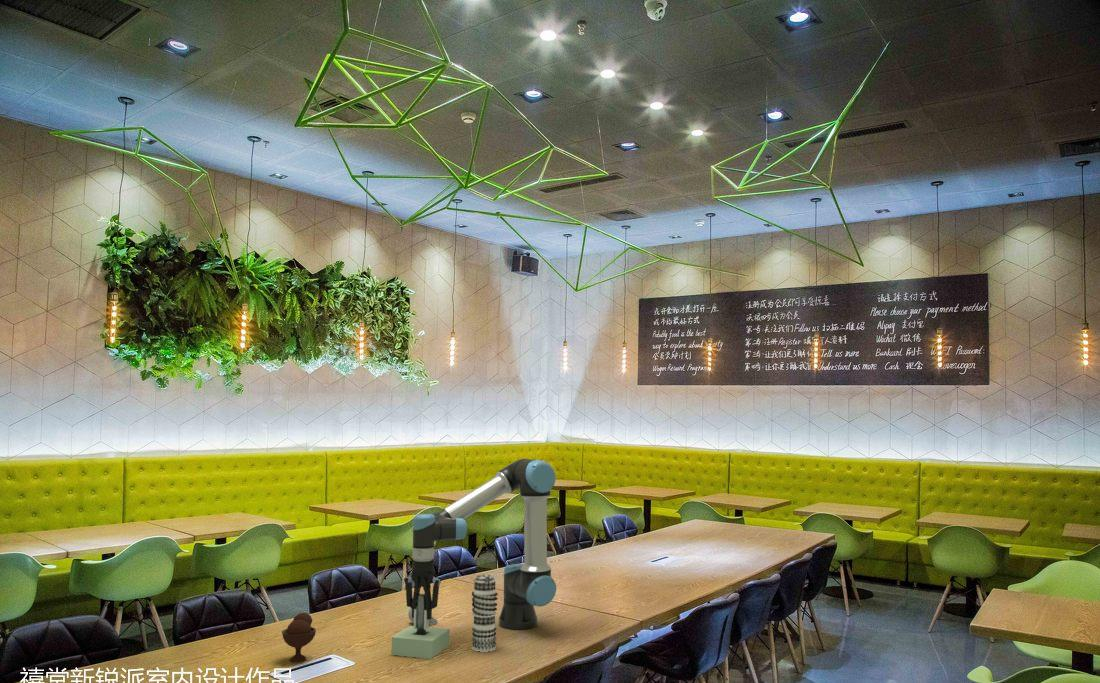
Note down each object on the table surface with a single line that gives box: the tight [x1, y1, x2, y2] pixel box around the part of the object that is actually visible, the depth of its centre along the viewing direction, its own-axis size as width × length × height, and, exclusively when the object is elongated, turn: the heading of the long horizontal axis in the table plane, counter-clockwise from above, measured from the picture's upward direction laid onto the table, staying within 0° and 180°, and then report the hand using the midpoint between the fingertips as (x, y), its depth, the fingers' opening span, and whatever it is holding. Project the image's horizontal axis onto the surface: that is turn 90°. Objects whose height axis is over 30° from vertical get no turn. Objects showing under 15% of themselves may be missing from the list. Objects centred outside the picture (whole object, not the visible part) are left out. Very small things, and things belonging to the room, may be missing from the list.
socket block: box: [390, 625, 451, 660], centre depth 269 cm, size 15×15×6 cm
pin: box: [417, 593, 426, 635], centre depth 270 cm, size 3×3×14 cm
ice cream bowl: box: [281, 612, 317, 663], centre depth 259 cm, size 11×11×15 cm
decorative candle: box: [471, 574, 499, 653], centre depth 273 cm, size 9×9×25 cm
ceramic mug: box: [408, 607, 438, 626], centre depth 302 cm, size 11×8×8 cm
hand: (421, 627), depth 270 cm, fingers closed on pin, 3 cm apart
